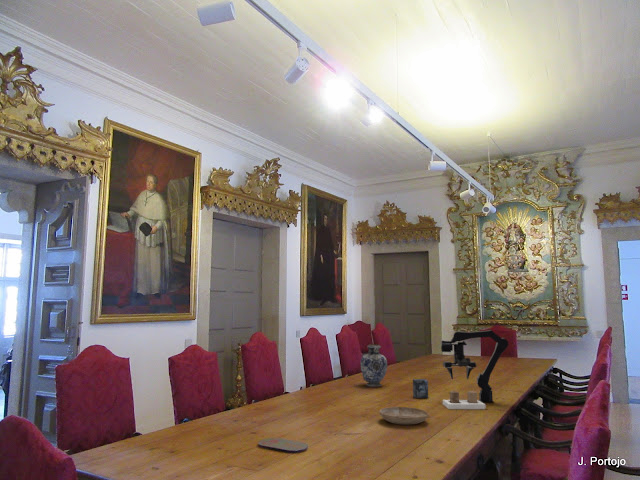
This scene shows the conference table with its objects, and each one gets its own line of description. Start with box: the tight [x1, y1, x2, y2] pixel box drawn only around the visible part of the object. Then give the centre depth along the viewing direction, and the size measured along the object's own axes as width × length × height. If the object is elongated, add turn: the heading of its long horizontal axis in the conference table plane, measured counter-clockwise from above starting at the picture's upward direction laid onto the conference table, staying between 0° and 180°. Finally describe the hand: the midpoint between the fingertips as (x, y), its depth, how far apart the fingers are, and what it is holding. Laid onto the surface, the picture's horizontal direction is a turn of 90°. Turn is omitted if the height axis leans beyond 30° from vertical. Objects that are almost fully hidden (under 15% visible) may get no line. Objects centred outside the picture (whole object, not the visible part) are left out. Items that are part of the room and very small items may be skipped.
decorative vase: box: [359, 343, 388, 388], centre depth 328 cm, size 21×19×28 cm
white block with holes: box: [442, 390, 487, 410], centre depth 261 cm, size 20×12×8 cm, turn 91°
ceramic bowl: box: [379, 406, 429, 426], centre depth 227 cm, size 23×24×5 cm
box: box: [412, 378, 429, 399], centre depth 286 cm, size 8×6×11 cm
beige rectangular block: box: [449, 390, 460, 403], centre depth 260 cm, size 4×4×8 cm
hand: (459, 379), depth 279 cm, fingers open, 9 cm apart
